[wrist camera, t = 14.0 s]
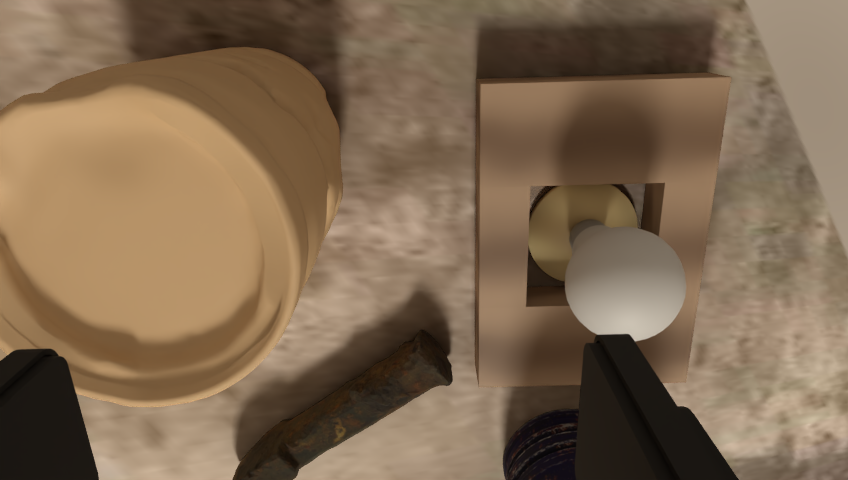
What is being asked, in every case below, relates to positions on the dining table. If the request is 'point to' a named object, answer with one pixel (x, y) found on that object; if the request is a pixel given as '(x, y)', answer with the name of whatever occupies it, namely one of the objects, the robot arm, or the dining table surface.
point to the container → (164, 219)
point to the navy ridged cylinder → (543, 448)
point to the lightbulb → (623, 280)
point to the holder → (585, 206)
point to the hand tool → (348, 410)
